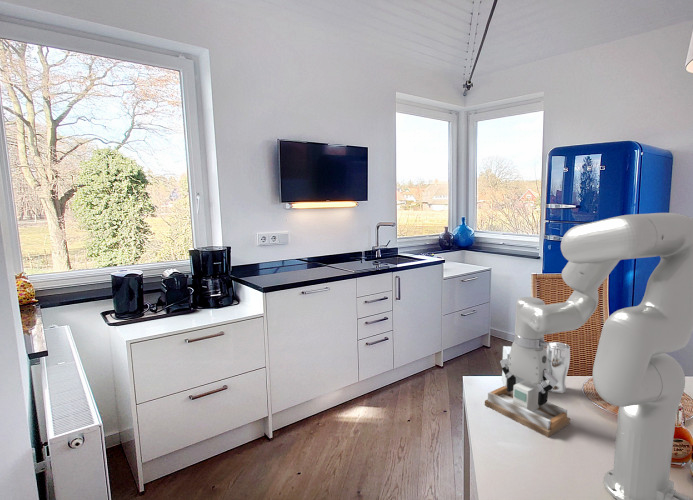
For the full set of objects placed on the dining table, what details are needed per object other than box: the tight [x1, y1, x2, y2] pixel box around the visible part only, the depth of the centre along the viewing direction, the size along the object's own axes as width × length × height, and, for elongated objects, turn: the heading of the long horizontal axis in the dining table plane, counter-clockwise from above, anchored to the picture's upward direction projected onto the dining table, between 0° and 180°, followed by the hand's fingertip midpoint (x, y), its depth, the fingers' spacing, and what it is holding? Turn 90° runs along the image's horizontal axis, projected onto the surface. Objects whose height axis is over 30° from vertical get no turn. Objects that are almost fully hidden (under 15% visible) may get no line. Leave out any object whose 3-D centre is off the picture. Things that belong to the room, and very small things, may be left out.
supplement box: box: [501, 345, 524, 387], centre depth 134 cm, size 7×7×13 cm
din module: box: [513, 380, 540, 411], centre depth 116 cm, size 4×6×7 cm
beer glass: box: [546, 341, 571, 394], centre depth 131 cm, size 7×7×15 cm
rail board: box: [484, 385, 571, 438], centre depth 117 cm, size 20×11×4 cm, turn 34°
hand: (526, 397), depth 117 cm, fingers open, 9 cm apart
